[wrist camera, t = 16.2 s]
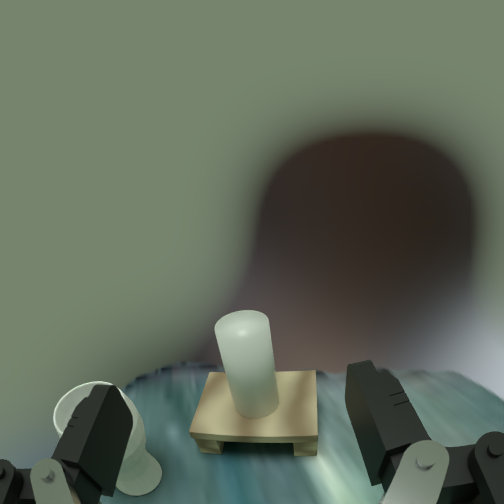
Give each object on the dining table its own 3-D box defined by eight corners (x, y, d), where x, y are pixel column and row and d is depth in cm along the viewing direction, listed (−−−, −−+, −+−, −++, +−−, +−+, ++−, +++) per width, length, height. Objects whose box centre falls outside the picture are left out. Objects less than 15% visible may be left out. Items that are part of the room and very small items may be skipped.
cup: (103, 505, 26) (41, 444, 21) (106, 450, 36) (59, 382, 30) (176, 501, 28) (127, 440, 23) (168, 443, 38) (131, 372, 33)
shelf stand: (315, 396, 44) (315, 370, 42) (316, 458, 33) (317, 435, 31) (217, 397, 47) (209, 372, 45) (200, 454, 36) (188, 431, 33)
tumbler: (268, 381, 41) (256, 305, 37) (286, 408, 36) (277, 328, 31) (228, 395, 39) (208, 319, 35) (243, 424, 34) (223, 347, 30)
